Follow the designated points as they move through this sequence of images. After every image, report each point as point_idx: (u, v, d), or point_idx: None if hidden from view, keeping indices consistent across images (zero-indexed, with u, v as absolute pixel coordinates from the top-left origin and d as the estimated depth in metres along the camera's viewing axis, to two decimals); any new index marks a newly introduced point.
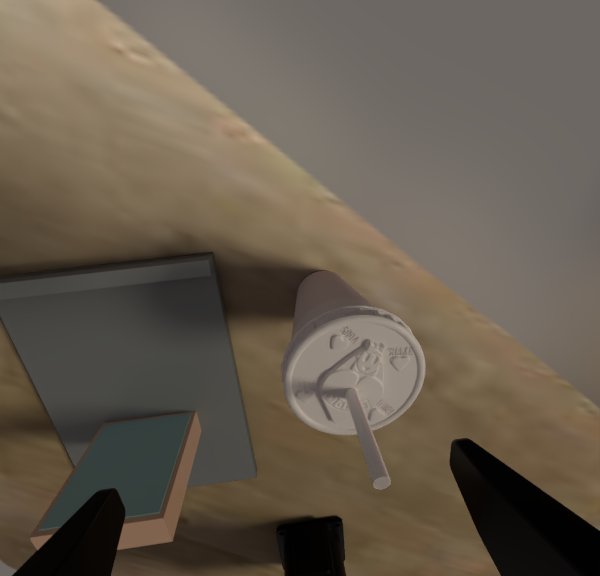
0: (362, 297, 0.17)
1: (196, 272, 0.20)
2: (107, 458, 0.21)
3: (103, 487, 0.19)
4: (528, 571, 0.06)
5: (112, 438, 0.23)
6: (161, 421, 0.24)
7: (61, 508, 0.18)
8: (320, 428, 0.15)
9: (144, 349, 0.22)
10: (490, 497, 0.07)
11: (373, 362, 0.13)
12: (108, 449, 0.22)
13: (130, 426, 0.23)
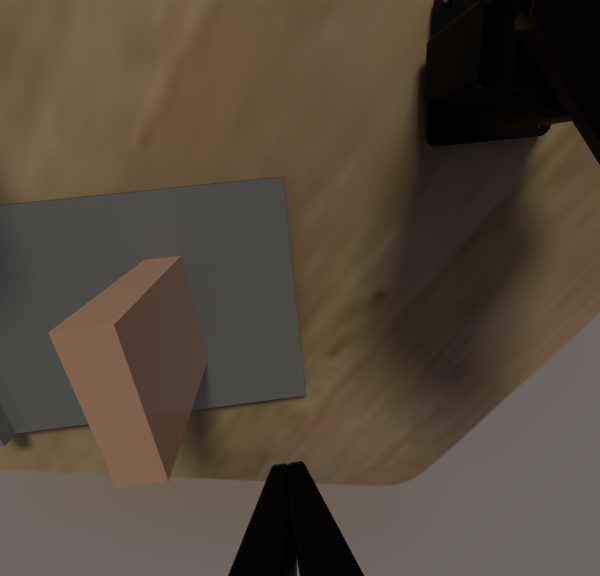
0: None
1: None
2: None
3: None
4: None
5: None
6: None
7: None
8: None
9: (49, 311, 0.18)
10: (292, 527, 0.07)
11: None
12: None
13: None
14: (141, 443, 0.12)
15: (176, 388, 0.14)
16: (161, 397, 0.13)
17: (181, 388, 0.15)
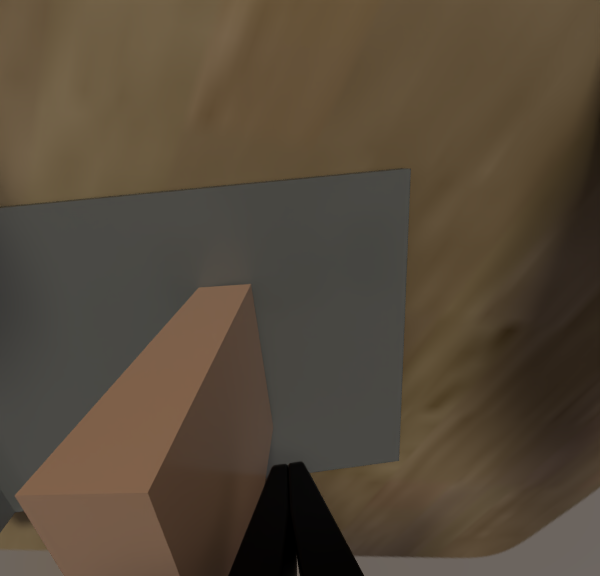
0: None
1: None
2: None
3: None
4: None
5: None
6: None
7: None
8: None
9: (61, 358, 0.13)
10: (292, 527, 0.07)
11: None
12: None
13: None
14: None
15: (242, 510, 0.09)
16: (224, 553, 0.07)
17: (249, 500, 0.10)
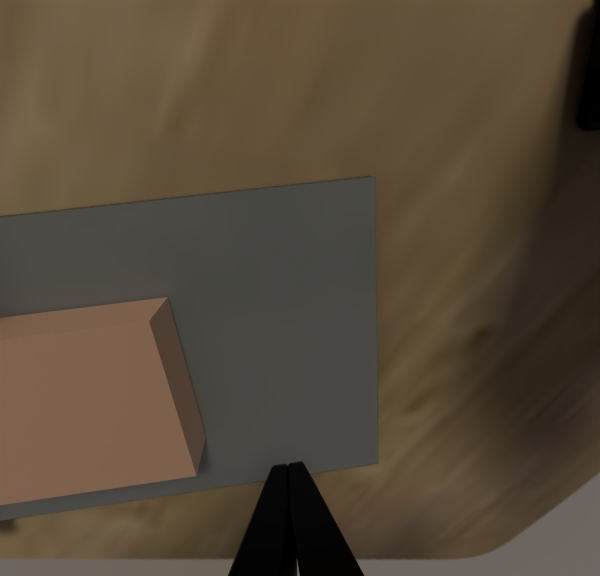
0: None
1: None
2: None
3: None
4: None
5: None
6: None
7: None
8: None
9: None
10: (292, 526, 0.07)
11: None
12: None
13: None
14: None
15: (44, 455, 0.12)
16: None
17: (65, 462, 0.12)
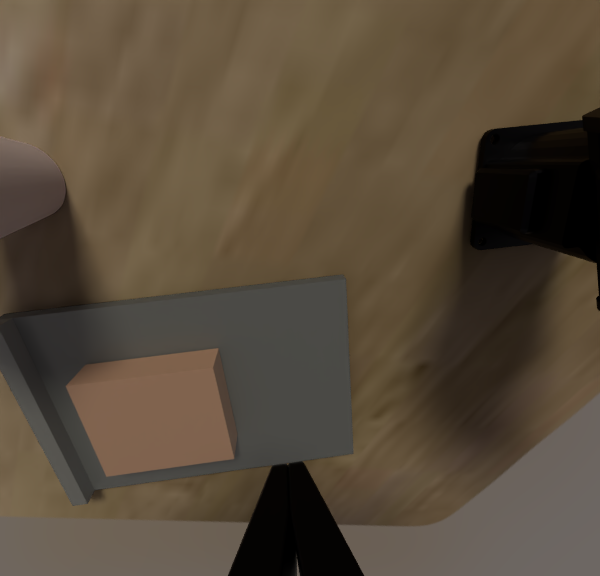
0: None
1: None
2: None
3: None
4: None
5: None
6: None
7: None
8: None
9: None
10: (292, 527, 0.07)
11: None
12: None
13: None
14: None
15: (143, 444, 0.19)
16: (115, 438, 0.19)
17: (155, 449, 0.20)
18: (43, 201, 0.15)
